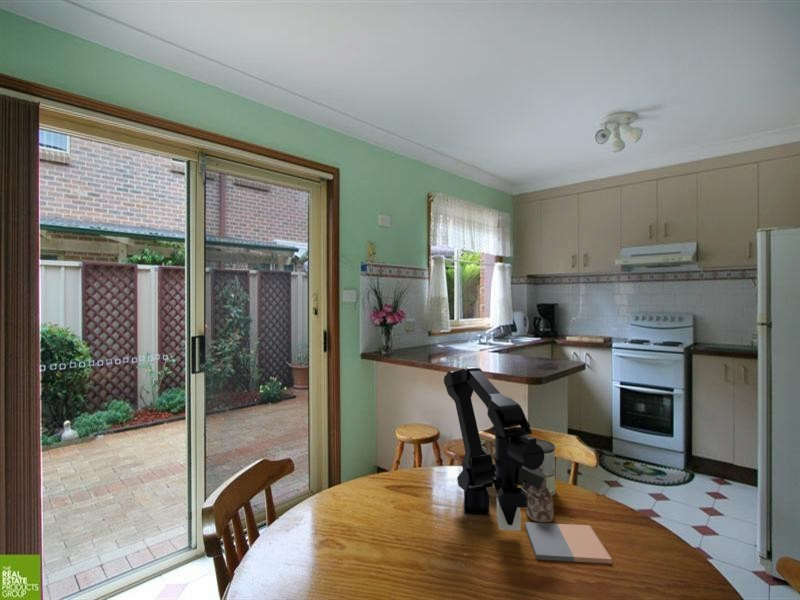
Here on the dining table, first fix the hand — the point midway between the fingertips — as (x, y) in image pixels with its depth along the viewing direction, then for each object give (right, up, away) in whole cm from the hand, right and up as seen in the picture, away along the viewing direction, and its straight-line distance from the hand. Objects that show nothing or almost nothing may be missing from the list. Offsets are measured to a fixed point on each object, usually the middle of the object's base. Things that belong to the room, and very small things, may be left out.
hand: (508, 519), depth 100 cm
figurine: (+11, -5, +11) cm, 16 cm away
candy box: (+2, -6, +32) cm, 33 cm away
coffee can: (+16, -5, +26) cm, 31 cm away
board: (+13, -4, -3) cm, 14 cm away
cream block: (0, -1, 0) cm, 1 cm away
